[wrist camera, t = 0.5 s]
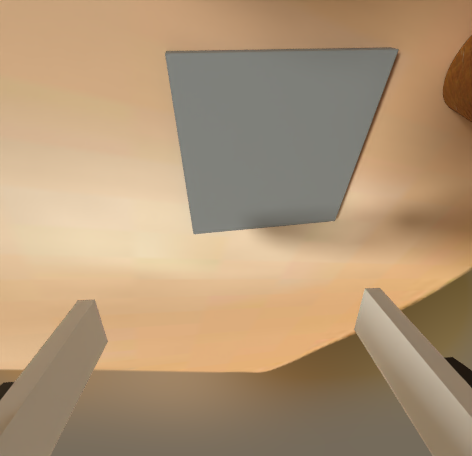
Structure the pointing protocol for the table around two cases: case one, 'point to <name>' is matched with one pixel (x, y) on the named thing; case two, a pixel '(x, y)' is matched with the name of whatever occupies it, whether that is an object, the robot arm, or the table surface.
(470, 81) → the disposable coffee cup
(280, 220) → the slate mat
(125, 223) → the table surface
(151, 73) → the table surface
